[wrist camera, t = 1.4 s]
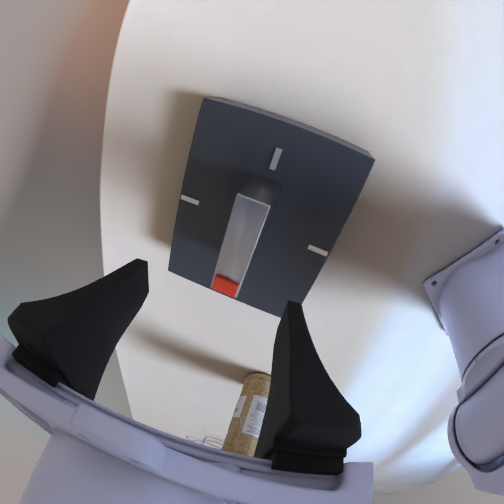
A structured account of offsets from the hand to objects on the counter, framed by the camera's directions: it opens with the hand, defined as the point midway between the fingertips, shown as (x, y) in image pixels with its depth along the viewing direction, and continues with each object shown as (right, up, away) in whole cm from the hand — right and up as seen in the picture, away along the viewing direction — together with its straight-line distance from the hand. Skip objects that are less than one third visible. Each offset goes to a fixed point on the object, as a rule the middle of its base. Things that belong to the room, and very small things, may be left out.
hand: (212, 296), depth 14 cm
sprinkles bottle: (+3, -14, +19) cm, 24 cm away
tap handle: (+2, +4, +5) cm, 7 cm away
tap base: (+3, +6, +8) cm, 10 cm away
